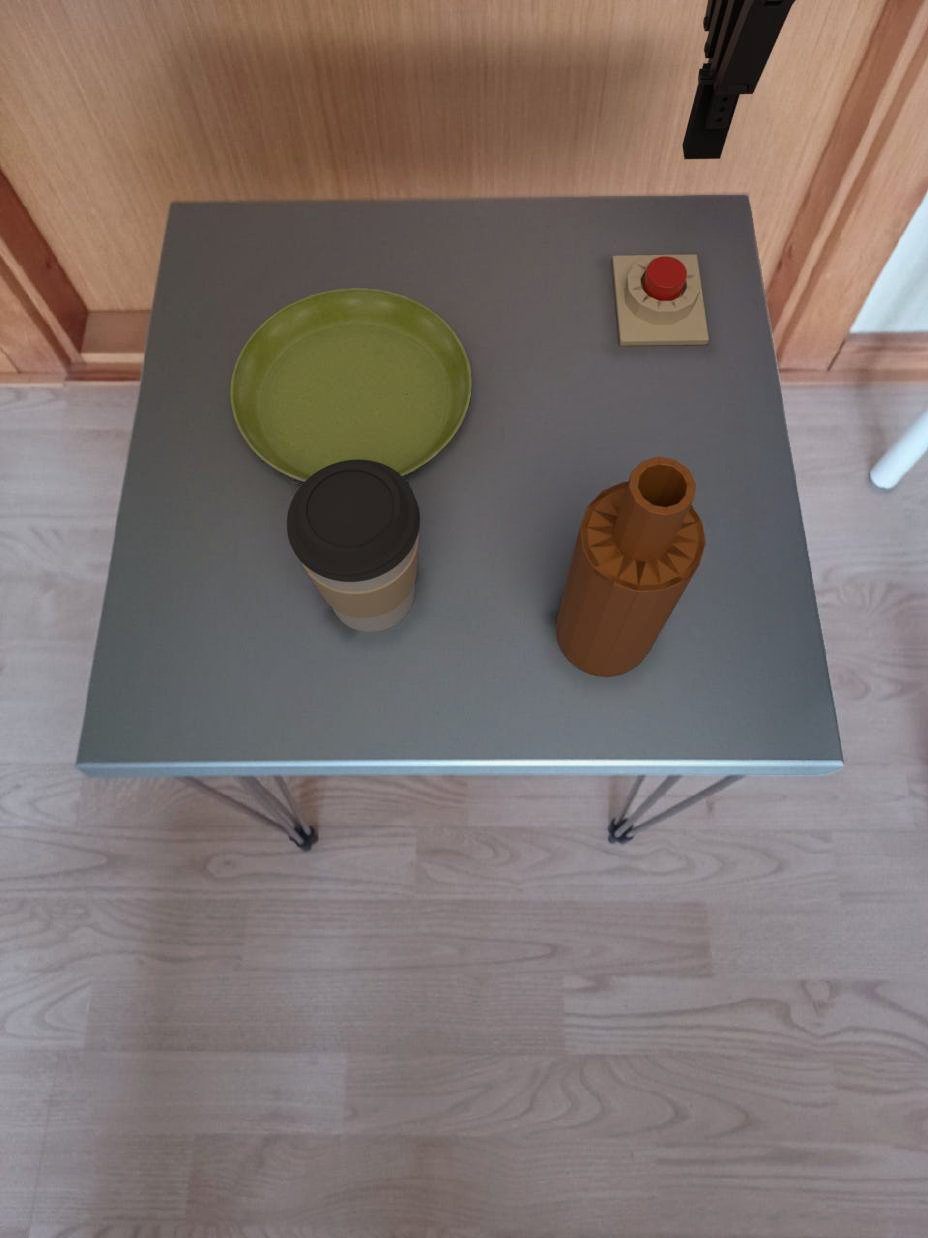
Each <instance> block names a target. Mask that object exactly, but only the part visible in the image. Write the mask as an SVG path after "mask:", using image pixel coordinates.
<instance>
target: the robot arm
mask: <svg viewBox="0 0 928 1238" xmlns="http://www.w3.org/2000/svg"><path fill="white" fill-rule="evenodd" d="M796 1H797V0H707V2H706V3H707V4H706V9H705V14H704V16H703V20H702V28H703V31H704V32H707V37H706V41H705V43H704V47H703V53H704V58H705V59H708V60H707V62H703V63H702V67H701V68H698V75H697V86H696V91H695V94H694V99H693V102H692V106H691V108H690V109H691V110H690V114H689V118H688V122H687V125H686V129H685V133H684V137H683V141H682V145H681V147H682V152H683V158H684V159H683V160H720V159H721V157H722V154H723V151H724V147H725V144H726V141H727V138H728V134H729V131H730V128H731V125H732V121H733V118H734V115H735V112H736V109H737V105H738V102H739V98H740V95H754V93H755V91H756V88H757V86H758V84H759V82H760V79H761V77H762V75H763V72H764V70H765V68H766V65H767V63H768V61H769V58H770V56H771V54H772V52H773V50H774V48H775V46H776V43H777V40H778V39H779V36H780V34H781V31H782V30H783V27H784V24H785V22H786V20H787V17H788V15H789V13H790V11H791V9H792V7H793V5H794V4H795V2H796Z"/></svg>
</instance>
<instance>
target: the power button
mask: <svg viewBox="0 0 928 1238" xmlns="http://www.w3.org/2000/svg"><path fill="white" fill-rule="evenodd" d="M686 277H687V271H686V268H685V266H684V264H683V263H682V262H681V261H679V260H678V259H676V258H673V257H668V256H662V257H658V258H655V259H654V260H652V261H651V262H650V263H649V264H648V266H647V270H646V273H645V277H644V282H643V286H644V290H645V291H646V293H647V294H648V295H649V296H650V297H652V298H654V299H656V300H660V301H669V300H673V299H675V298H676V297H678V296H679V295H680V294H681V292H682V289H683V286H684V283H685V280H686Z"/></svg>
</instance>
